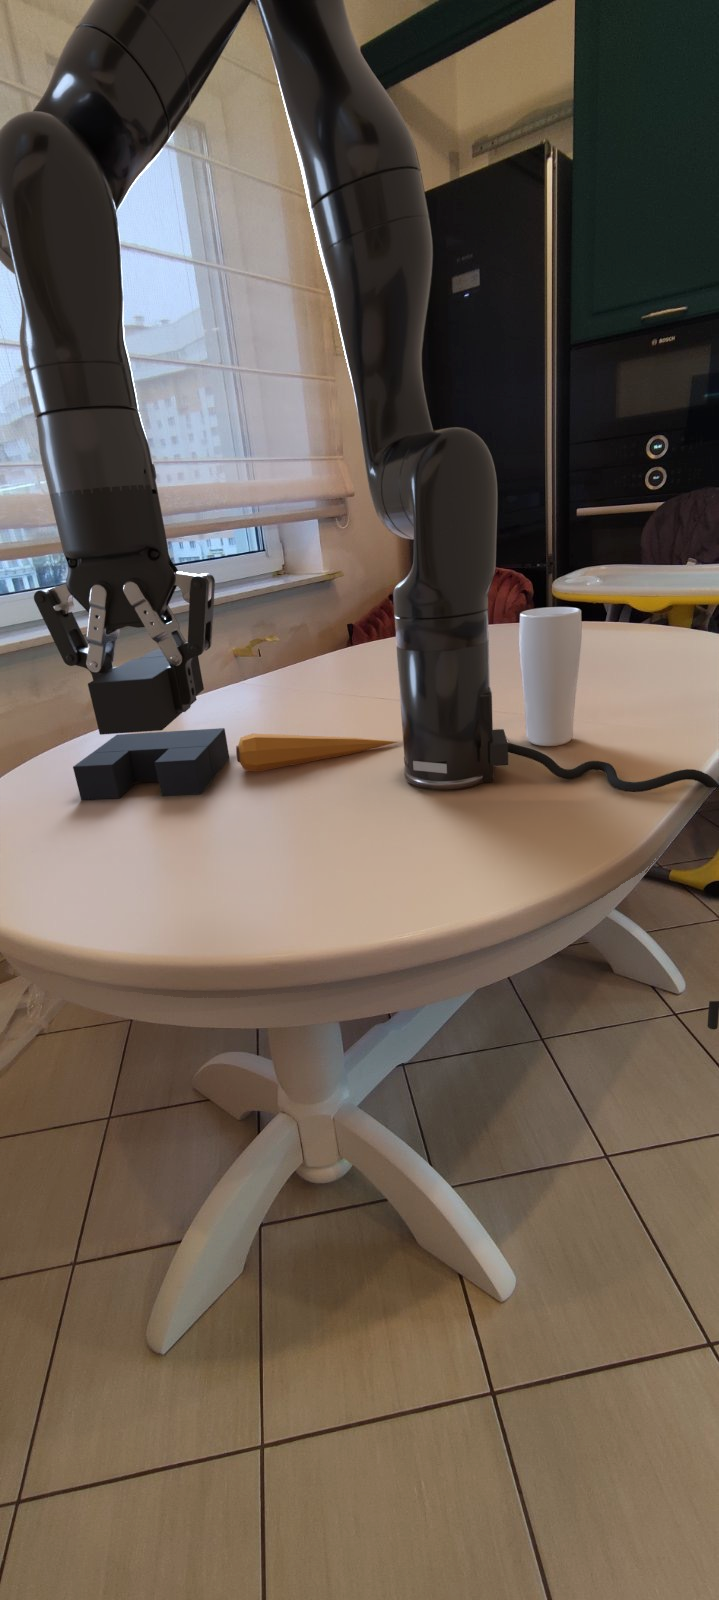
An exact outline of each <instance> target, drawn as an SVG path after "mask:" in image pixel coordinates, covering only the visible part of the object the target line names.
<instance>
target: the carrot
mask: <svg viewBox="0 0 719 1600" xmlns="http://www.w3.org/2000/svg"><path fill="white" fill-rule="evenodd" d="M396 743H398V741H393V740H385V739H384V740H383V739H372V738H362V737H347V736H346V737H345V736H322V735H321V736H320V735H299V734H298V735H297V734H296V735H295V734H273V733H271V734H269V733H250V734H247V735H244V736H241V737H240V738H239V741H238V745H236V747H235V753H236V755H235V756H236V761H237V763H239V764H240V766H241V767H242V769H243V770H244V771H248V772H249V771H250V772H255V773H258V772H263V771H268V770H273V769H278V768H284V767H289V766H294V765H299V764H304V763H310V762H316V761H320V760H324V759H325V760H326V759H329V758H330V759H331V758H335V757H341V756H345V755H346V756H347V755H351V754H357V753H361V752H364V751H369V750H372V749H376V748H380V747H385V746H388V745H393V744H396Z"/></svg>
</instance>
